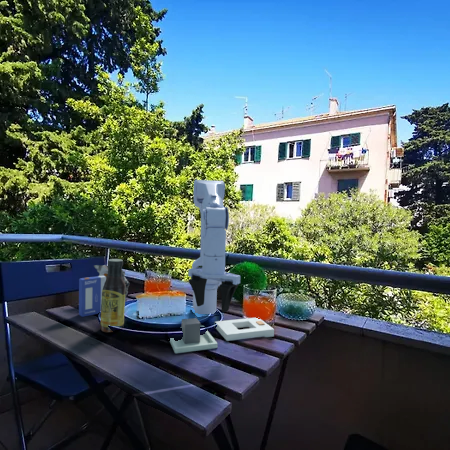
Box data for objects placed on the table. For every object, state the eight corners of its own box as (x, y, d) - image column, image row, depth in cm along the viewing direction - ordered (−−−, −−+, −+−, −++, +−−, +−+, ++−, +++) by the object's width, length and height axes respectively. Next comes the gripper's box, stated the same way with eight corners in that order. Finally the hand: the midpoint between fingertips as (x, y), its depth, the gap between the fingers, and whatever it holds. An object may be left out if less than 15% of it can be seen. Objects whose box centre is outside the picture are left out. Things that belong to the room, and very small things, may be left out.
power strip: (214, 328, 92) (214, 320, 92) (257, 323, 97) (258, 316, 96) (226, 342, 82) (227, 333, 82) (273, 336, 87) (274, 328, 87)
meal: (89, 301, 114) (89, 265, 113) (98, 298, 118) (98, 264, 117) (120, 308, 107) (121, 270, 107) (129, 305, 111) (129, 268, 111)
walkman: (82, 317, 98) (82, 278, 97) (78, 314, 100) (79, 277, 99) (106, 311, 103) (107, 275, 103) (103, 309, 105) (103, 274, 105)
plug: (181, 337, 83) (181, 319, 83) (195, 336, 85) (196, 318, 84) (184, 344, 79) (185, 324, 79) (200, 342, 81) (200, 323, 81)
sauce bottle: (95, 332, 86) (96, 260, 85) (109, 324, 92) (110, 257, 91) (116, 335, 85) (117, 262, 84) (129, 327, 91) (130, 258, 90)
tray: (166, 334, 86) (166, 329, 86) (203, 330, 90) (203, 325, 90) (175, 354, 74) (175, 348, 74) (217, 349, 78) (217, 343, 78)
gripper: (181, 253, 79) (180, 306, 80) (230, 260, 72) (228, 318, 73) (198, 251, 85) (196, 300, 86) (245, 256, 78) (243, 310, 79)
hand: (212, 308), depth 80 cm, fingers open, 7 cm apart
